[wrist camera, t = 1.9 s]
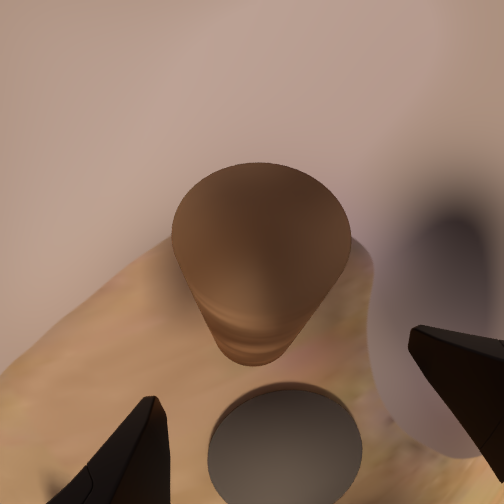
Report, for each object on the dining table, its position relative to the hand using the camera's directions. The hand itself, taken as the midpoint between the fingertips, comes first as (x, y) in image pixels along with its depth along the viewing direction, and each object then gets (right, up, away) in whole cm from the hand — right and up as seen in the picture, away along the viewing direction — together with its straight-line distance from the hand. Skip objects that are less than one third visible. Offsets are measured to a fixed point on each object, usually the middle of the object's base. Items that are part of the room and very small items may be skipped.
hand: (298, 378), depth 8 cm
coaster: (+1, -11, +7) cm, 13 cm away
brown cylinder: (-1, -2, +12) cm, 12 cm away
